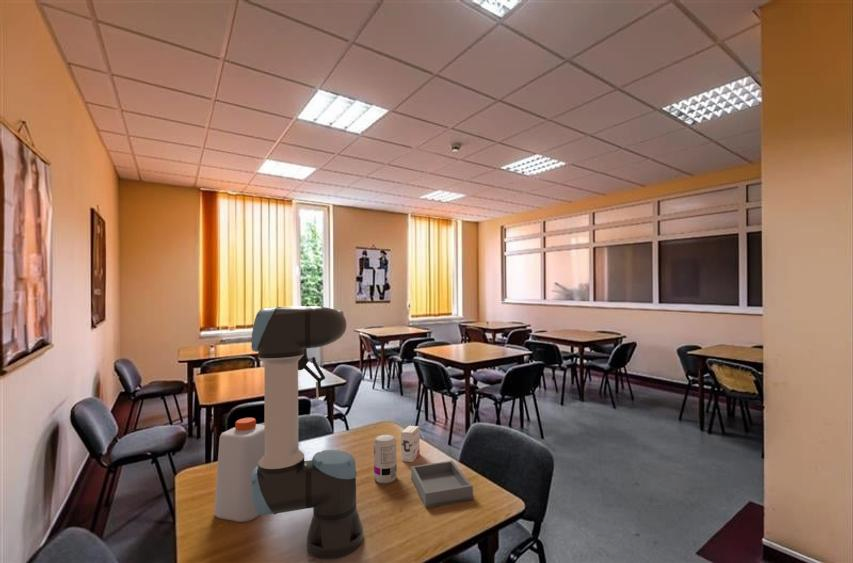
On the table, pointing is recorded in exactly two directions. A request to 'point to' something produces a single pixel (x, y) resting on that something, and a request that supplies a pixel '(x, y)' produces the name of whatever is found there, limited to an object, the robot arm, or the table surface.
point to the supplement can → (385, 458)
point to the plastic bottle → (238, 470)
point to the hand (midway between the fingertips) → (299, 401)
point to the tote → (441, 484)
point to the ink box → (410, 443)
